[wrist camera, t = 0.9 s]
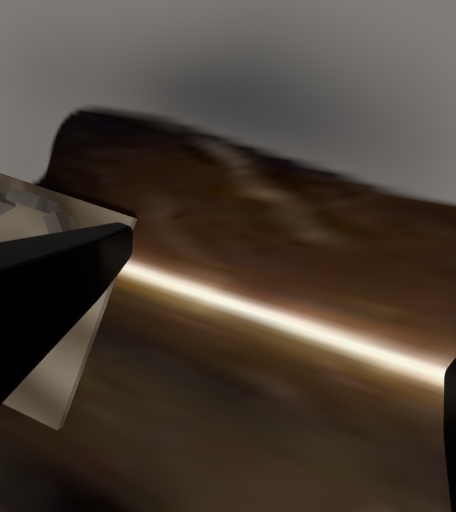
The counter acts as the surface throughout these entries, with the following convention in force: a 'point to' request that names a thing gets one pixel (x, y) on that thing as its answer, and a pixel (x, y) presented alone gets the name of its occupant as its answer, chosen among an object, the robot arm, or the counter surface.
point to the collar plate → (84, 331)
